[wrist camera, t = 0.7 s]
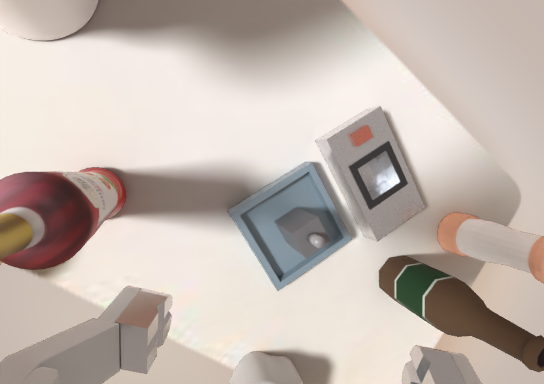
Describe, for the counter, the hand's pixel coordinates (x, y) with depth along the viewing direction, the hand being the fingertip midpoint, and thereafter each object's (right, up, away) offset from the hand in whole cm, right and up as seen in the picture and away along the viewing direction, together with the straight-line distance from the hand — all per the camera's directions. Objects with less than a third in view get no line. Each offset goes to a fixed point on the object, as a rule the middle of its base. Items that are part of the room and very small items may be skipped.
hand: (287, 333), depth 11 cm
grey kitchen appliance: (+15, +8, +41) cm, 44 cm away
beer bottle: (+21, -10, +45) cm, 51 cm away
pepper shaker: (+33, -3, +48) cm, 58 cm away
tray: (+2, 0, +39) cm, 39 cm away
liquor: (-23, +5, +31) cm, 39 cm away
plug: (+2, 0, +38) cm, 38 cm away
